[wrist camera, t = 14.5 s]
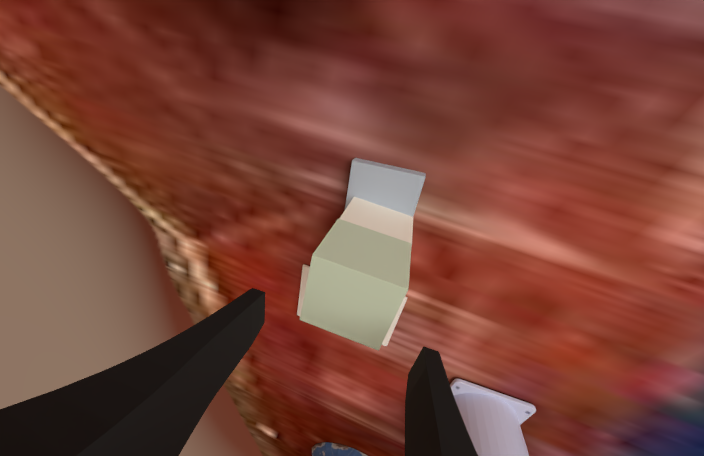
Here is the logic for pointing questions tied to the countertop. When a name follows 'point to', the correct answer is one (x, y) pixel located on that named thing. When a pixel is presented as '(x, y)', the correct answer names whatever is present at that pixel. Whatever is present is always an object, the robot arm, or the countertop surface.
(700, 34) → the countertop surface
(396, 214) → the brick
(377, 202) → the base brick
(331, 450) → the lantern
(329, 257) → the pale green cube
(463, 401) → the robot arm
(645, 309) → the countertop surface
